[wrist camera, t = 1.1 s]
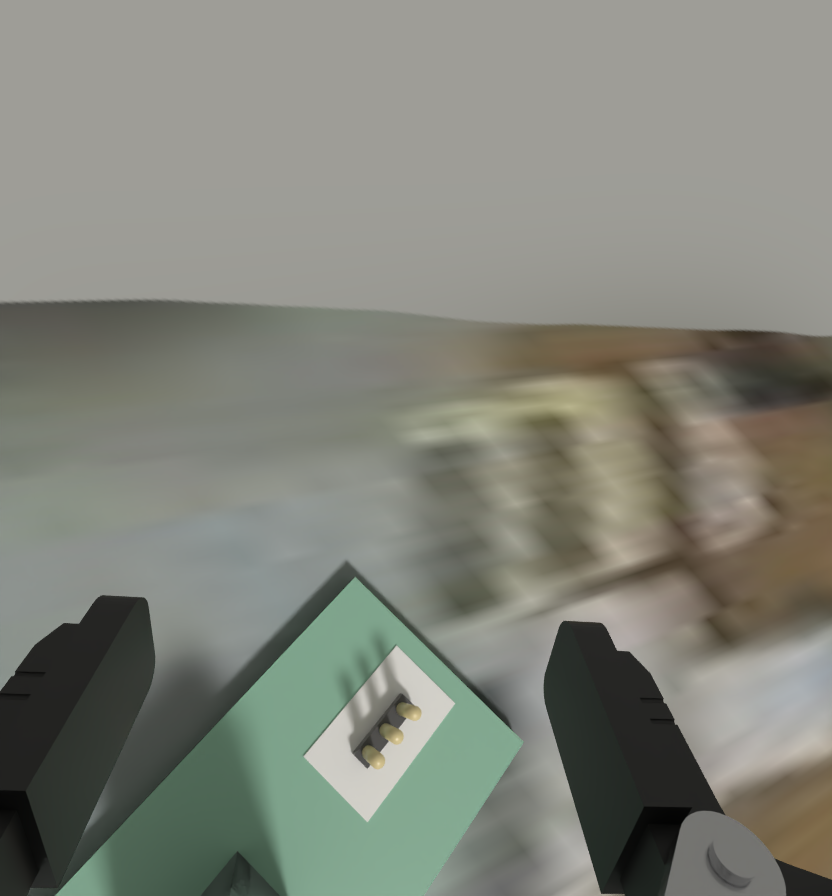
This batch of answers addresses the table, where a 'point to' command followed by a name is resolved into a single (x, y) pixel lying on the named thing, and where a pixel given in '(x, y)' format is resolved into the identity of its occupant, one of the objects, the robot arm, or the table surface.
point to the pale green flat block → (321, 773)
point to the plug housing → (239, 880)
